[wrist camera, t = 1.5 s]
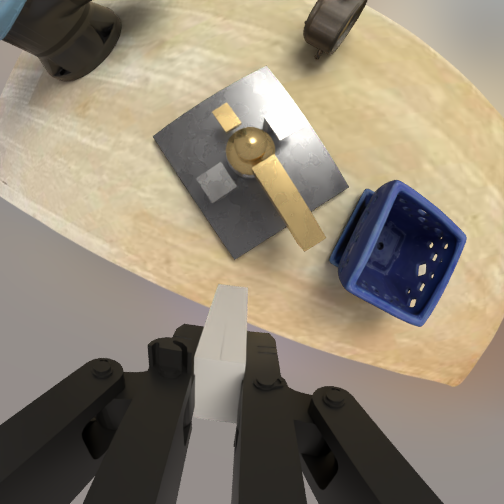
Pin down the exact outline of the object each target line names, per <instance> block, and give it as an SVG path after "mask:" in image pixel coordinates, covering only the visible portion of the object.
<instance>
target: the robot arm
mask: <svg viewBox="0 0 504 504" xmlns="http://www.w3.org/2000/svg"><path fill="white" fill-rule="evenodd" d="M90 1H92V0H0V40H3V41H5V42H7V43H10V44H12V45H14V46H16V47H18V48H21V49H23V50H25V51H27V52H29V53H31V54H33V55H35V56H37V57H38V58H39V59H40V61H41V62H42V64H43V65H44V67H45V68H46V70H47V71H48V73H49V74H50V75H51V76H53V77H55V78H57V79H59V80H61V81H72V80H75V79H78V78H80V77H82V76H84V75H86V74H88V73H89V72H91V71H92V70H93V69H95V68H96V67H97V66H98V65H99V64H100V63H101V62H102V61H103V60H104V59H105V58H106V57H107V56H108V55H109V53H110V52H111V51H112V49H113V48H114V46H115V44H116V42H117V40H118V38H119V35H120V32H121V22H120V19H119V18H118V16H117V15H116V14H115V13H114V12H113V11H112V10H111V9H109V8H107V7H104V6H101V5H98V4H95V3H92V2H90ZM247 303H248V288H247V287H239V286H230V285H222V284H218V287H217V290H216V293H215V296H214V299H213V302H212V305H211V308H210V311H209V314H208V317H207V320H206V323H205V326H204V327H203V326H196V325H189V324H183V325H182V326H180V327H179V328H177V329H176V331H175V333H174V335H173V337H172V338H169V337H165V338H158V339H156V340H153V341H151V342H150V343H149V344H148V355H149V356H148V357H149V369H148V371H145V372H123V368H122V366H121V365H120V364H119V363H118V362H116V361H115V360H111V359H108V358H98V359H94V360H92V361H89V362H88V363H86V364H84V365H83V366H82V367H80V368H79V369H77V370H76V371H75V372H73V373H72V374H70V375H69V376H68V377H66V378H65V379H63V380H62V381H61V382H60V383H58V384H57V385H55V386H54V387H53V388H51V389H50V390H48V391H47V392H46V393H44V394H43V395H41V396H40V397H39V398H37V399H36V400H34V401H33V402H32V403H30V404H29V405H27V406H26V407H25V408H23V409H22V410H21V411H19V412H18V413H16V414H15V415H14V416H12V417H11V418H10V419H8V420H7V421H5V422H4V423H3V424H1V425H0V504H70V503H71V502H72V500H74V498H75V497H76V496H77V495H78V494H79V493H80V492H81V491H82V490H83V489H84V487H85V486H86V485H87V484H88V483H89V482H90V481H91V480H92V478H93V477H94V476H95V478H94V480H93V482H92V485H91V487H90V489H89V491H88V493H87V495H86V498H85V500H84V502H83V504H176V500H177V496H178V491H179V486H180V481H181V476H182V472H183V467H184V462H185V458H186V453H187V448H188V444H189V439H190V434H191V430H192V421H191V420H192V416H193V412H194V418H200V419H207V420H215V421H222V422H231V423H237V427H236V434H235V441H234V447H235V449H234V467H233V483H232V484H233V485H232V500H231V504H307V501H306V494H305V488H304V481H303V476H302V472H303V474H304V476H305V478H306V480H307V482H308V484H309V486H310V488H311V490H312V492H313V494H314V496H315V497H316V499H317V501H318V503H319V504H444V503H443V502H441V500H440V499H439V498H438V497H437V496H436V494H435V493H434V492H433V491H432V490H431V489H430V487H429V486H428V485H427V484H426V483H425V482H424V481H423V479H422V478H421V477H420V476H419V475H418V473H417V472H416V471H415V470H414V469H413V468H412V466H411V465H410V464H409V463H408V462H407V460H406V459H405V458H404V457H403V456H402V455H401V453H400V452H399V451H398V450H397V449H396V447H395V446H394V445H393V444H392V443H391V442H390V440H389V439H388V438H387V437H386V436H385V435H384V433H383V432H382V431H381V430H380V428H379V427H378V426H377V425H376V424H375V422H374V421H373V420H372V419H371V418H370V417H369V415H368V414H367V413H366V412H365V410H364V409H363V408H362V407H361V406H360V404H359V403H358V402H357V401H356V400H355V398H354V397H353V396H352V395H351V394H350V393H349V392H347V391H346V390H344V389H341V388H338V387H334V386H325V387H321V388H318V389H317V390H316V391H315V392H314V393H313V395H309V394H305V393H301V392H298V391H295V390H293V389H291V388H289V387H288V385H287V383H286V381H285V379H283V378H282V377H281V375H280V367H279V361H278V355H277V349H276V342H275V339H274V338H273V337H272V336H271V335H270V334H269V333H259V332H250V331H247Z"/></svg>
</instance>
